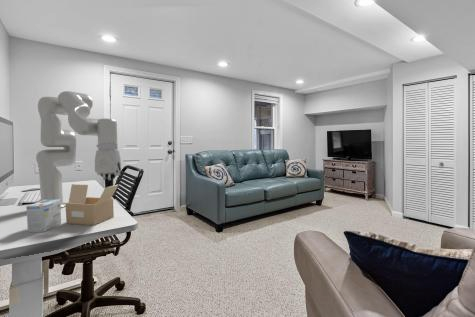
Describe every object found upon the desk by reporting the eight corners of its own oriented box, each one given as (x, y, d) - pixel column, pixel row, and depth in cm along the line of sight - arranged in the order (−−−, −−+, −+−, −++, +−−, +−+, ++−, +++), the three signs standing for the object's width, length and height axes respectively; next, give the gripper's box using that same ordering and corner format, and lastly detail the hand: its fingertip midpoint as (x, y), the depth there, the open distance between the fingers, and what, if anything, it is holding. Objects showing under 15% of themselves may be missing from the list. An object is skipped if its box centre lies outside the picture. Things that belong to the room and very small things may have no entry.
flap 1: (69, 202, 105) (68, 202, 104) (72, 184, 106) (71, 184, 106) (84, 203, 103) (84, 203, 103) (88, 185, 105) (87, 184, 104)
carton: (65, 223, 106) (64, 203, 105) (88, 215, 118) (87, 196, 118) (94, 225, 103) (93, 204, 102) (114, 216, 115) (113, 198, 115)
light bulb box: (45, 223, 106) (44, 199, 105) (62, 223, 106) (61, 199, 106) (26, 232, 95) (25, 205, 95) (45, 232, 96) (43, 205, 95)
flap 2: (105, 187, 103) (105, 187, 103) (118, 184, 111) (118, 184, 111) (97, 202, 104) (97, 203, 104) (110, 198, 112) (110, 198, 112)
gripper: (86, 147, 104) (88, 189, 105) (117, 147, 101) (118, 191, 102) (99, 146, 111) (100, 186, 113) (128, 147, 108) (129, 187, 110)
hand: (109, 188), depth 107 cm, fingers closed
